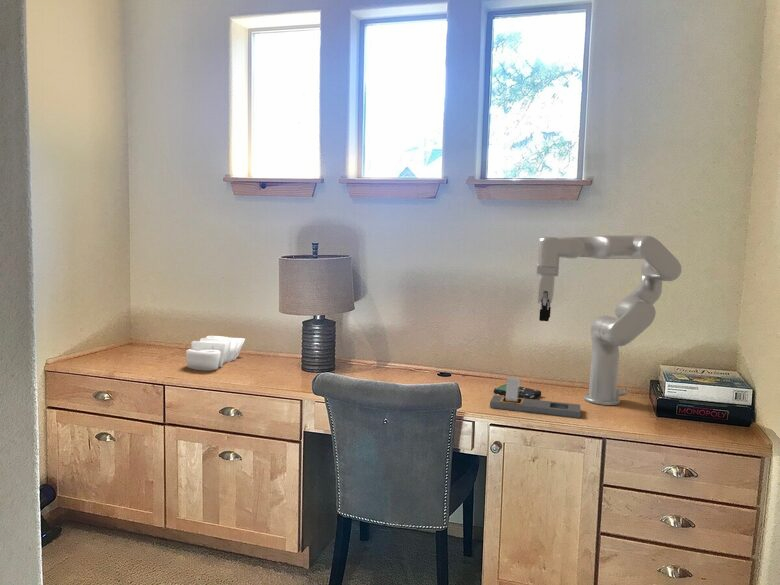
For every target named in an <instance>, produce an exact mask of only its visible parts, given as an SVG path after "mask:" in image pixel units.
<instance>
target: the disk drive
mask: <svg viewBox="0 0 780 585" xmlns="http://www.w3.org/2000/svg"><path fill="white" fill-rule="evenodd" d="M494 393H495V394H494ZM493 394H494V395H497V394H499V395H498V396H502V395H504V396H506V383H505V384H503V385H500V386H498V387H494V389H493ZM541 397H542V390H538V389H534V388H528V387H524V386H520V385H519V398H525V399H534V400H537V399H539V398H541Z"/></svg>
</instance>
